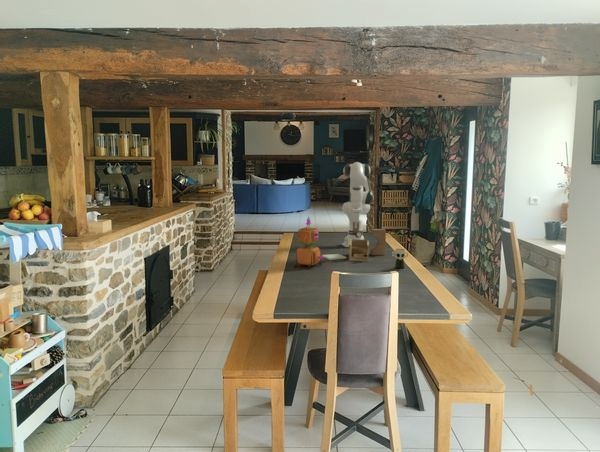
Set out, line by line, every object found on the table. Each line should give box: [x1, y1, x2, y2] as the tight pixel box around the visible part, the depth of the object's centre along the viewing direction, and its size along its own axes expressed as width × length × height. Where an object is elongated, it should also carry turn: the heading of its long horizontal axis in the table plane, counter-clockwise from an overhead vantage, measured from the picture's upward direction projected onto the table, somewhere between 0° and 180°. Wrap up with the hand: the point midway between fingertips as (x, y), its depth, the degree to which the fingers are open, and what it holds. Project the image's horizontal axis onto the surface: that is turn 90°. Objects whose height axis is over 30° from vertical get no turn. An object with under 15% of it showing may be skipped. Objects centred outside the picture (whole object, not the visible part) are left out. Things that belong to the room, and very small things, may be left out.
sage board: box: [321, 253, 347, 261], centre depth 377 cm, size 14×14×1 cm
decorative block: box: [369, 228, 387, 256], centre depth 389 cm, size 11×6×20 cm, turn 89°
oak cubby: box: [348, 239, 370, 262], centre depth 377 cm, size 26×14×12 cm, turn 172°
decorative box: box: [293, 216, 324, 270], centre depth 343 cm, size 19×21×35 cm
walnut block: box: [353, 222, 359, 233], centre depth 374 cm, size 4×4×9 cm
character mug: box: [391, 248, 409, 269], centre depth 341 cm, size 11×7×13 cm, turn 84°
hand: (355, 227), depth 374 cm, fingers closed on walnut block, 4 cm apart
